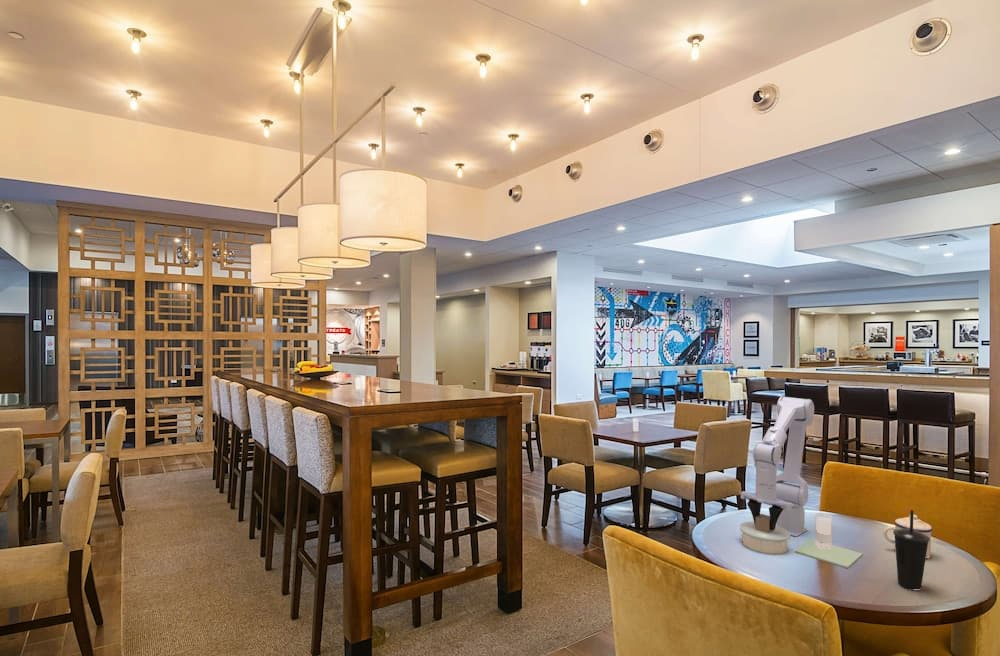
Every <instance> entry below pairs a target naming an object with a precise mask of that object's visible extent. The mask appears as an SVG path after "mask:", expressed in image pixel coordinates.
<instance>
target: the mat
mask: <svg viewBox="0 0 1000 656" xmlns="http://www.w3.org/2000/svg"><path fill="white" fill-rule="evenodd" d="M815 540H816V539H813V538H811V539H810V540H808V541H806V542H805V543H803V544H802V545H801V546H799V547H798V548H796V549H795V550H794V551H793V552H794V553H795V554H800V555H803V556H806V557H809V558H812V559H814V560H819V561H822V562H825V563H828V564H831V565H835V566H837V567H841V568H844V569H847V570H848V569H849V568H850V567H851V566H853V564H855V563H856V562H857V561H858V560H859V559H860V558H862V557H863V555H864V553H862V552H858V551H855V550H851V549H847V548H844V547H841V546H837V545H833V544H831V549H820V548H818V547H817V546H816V545H815Z"/></svg>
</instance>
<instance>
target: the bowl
mask: <svg viewBox="0 0 1000 656" xmlns="http://www.w3.org/2000/svg"><path fill="white" fill-rule="evenodd" d="M741 541H743V542H742V545H743V544H744V545H743V546H745V547H746V548H748V549H750V550H753V551H755V552H759V553H764V554H771V555H779V554H785V553H786V552H787V551H788V540H786V541H780V542H774V541H765V540H760V539H756V538H753V537H750V536H748V535H746V534H744V533H743V532H741Z"/></svg>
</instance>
